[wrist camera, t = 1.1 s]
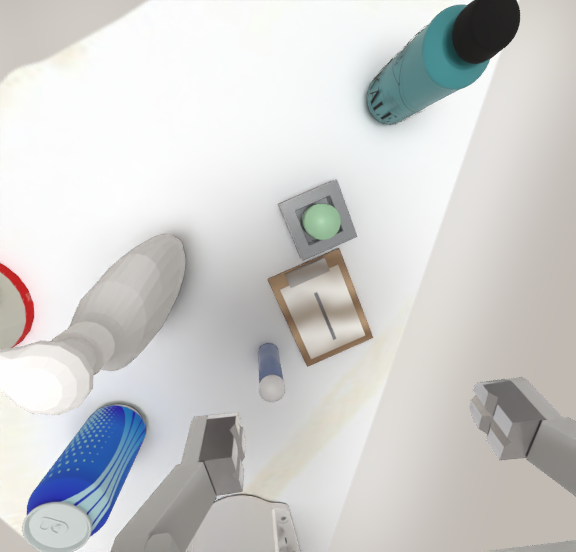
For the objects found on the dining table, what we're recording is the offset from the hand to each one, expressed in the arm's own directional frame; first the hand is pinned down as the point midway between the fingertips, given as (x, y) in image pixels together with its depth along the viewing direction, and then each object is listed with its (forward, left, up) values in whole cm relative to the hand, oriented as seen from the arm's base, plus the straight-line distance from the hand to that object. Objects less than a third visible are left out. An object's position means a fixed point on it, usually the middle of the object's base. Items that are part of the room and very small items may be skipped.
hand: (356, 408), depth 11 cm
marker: (-13, +8, -35) cm, 38 cm away
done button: (+2, -6, -34) cm, 34 cm away
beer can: (-14, +33, -35) cm, 50 cm away
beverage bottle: (+13, -20, -35) cm, 42 cm away
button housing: (+2, -6, -35) cm, 35 cm away
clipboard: (-10, -2, -35) cm, 36 cm away
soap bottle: (+4, +17, -35) cm, 39 cm away
